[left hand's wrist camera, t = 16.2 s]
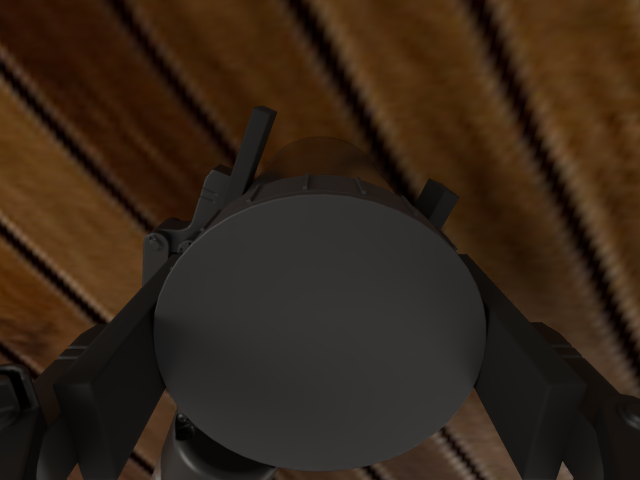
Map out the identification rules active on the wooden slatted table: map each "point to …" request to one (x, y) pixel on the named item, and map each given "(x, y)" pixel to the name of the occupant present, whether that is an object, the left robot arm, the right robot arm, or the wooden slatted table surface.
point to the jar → (320, 162)
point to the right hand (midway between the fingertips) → (357, 150)
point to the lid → (319, 325)
